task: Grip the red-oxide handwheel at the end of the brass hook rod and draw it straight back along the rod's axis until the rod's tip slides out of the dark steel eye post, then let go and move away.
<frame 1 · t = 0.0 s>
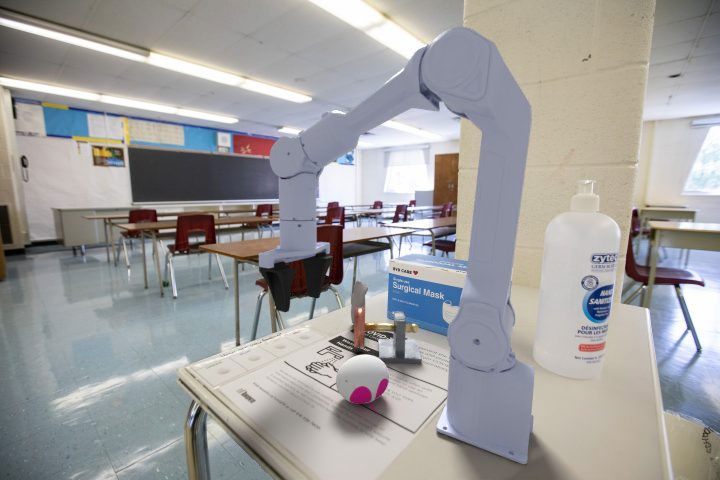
hand: (299, 303, 50), 10 cm above the table, fingers open, 7 cm apart
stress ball: (364, 401, 42), on the table
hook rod: (386, 327, 54), point 5 cm above the table, slide at 0.0 cm
fossil: (358, 326, 66), on the table
eye post: (398, 352, 55), on the table
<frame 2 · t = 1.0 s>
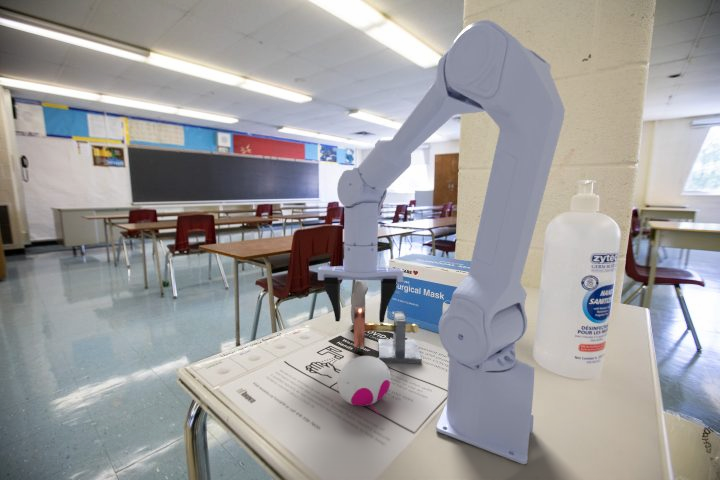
hand: (359, 319, 54), 6 cm above the table, fingers open, 7 cm apart
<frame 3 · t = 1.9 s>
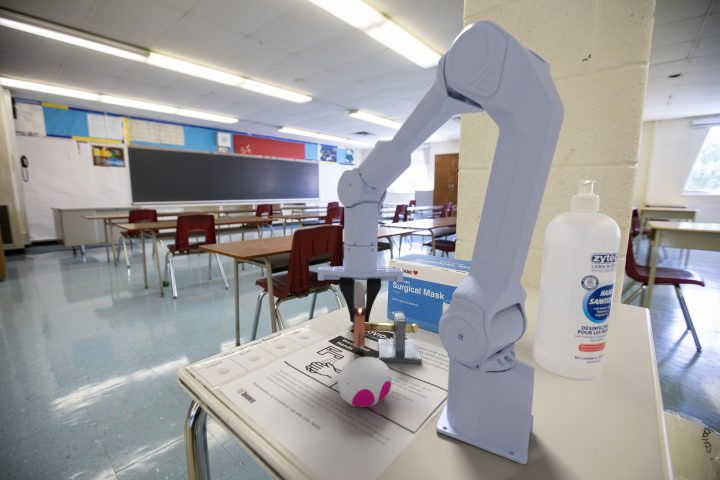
hand: (359, 319, 54), 6 cm above the table, fingers closed, pressing on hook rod
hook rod: (386, 327, 54), point 5 cm above the table, slide at 0.0 cm, touching gripper
everything else where it was.
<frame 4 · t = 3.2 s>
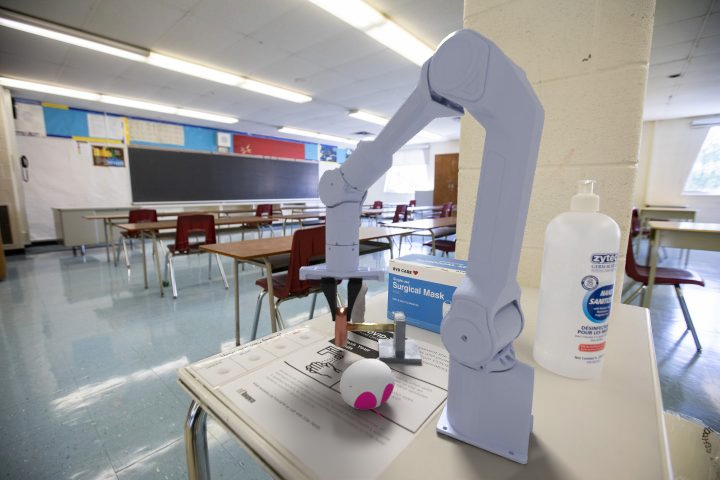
hand: (341, 319, 54), 6 cm above the table, fingers closed on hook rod, 2 cm apart
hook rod: (368, 327, 54), point 5 cm above the table, slide at 3.2 cm, touching gripper
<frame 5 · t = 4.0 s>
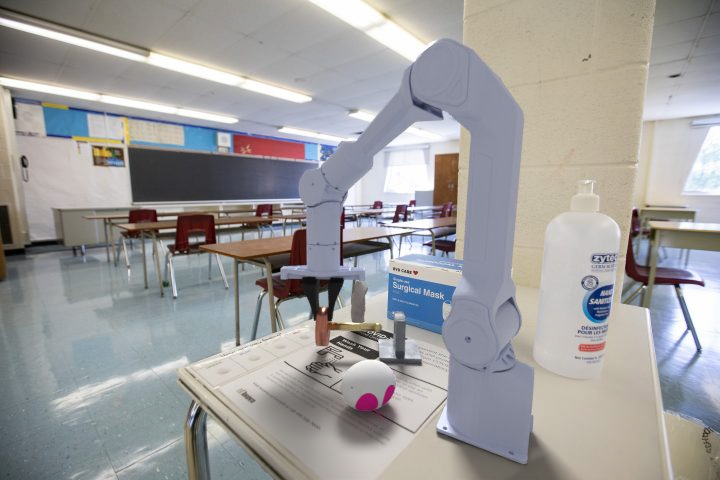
hand: (323, 319, 54), 6 cm above the table, fingers closed on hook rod, 2 cm apart
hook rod: (350, 326, 54), point 5 cm above the table, slide at 6.5 cm, touching gripper
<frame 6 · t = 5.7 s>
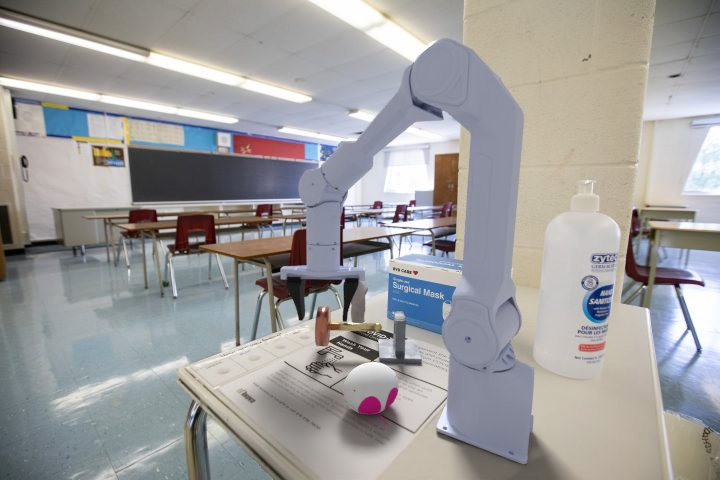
hand: (323, 319, 54), 6 cm above the table, fingers open, 7 cm apart
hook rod: (350, 326, 54), point 5 cm above the table, slide at 6.5 cm
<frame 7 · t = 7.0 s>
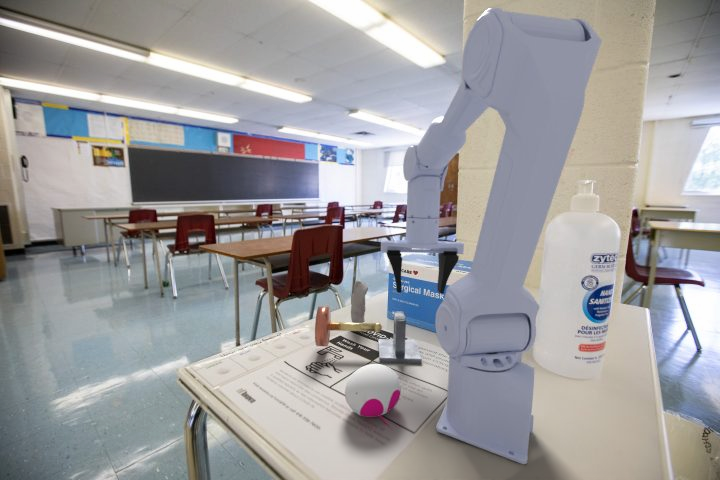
hand: (419, 291, 56), 10 cm above the table, fingers open, 7 cm apart
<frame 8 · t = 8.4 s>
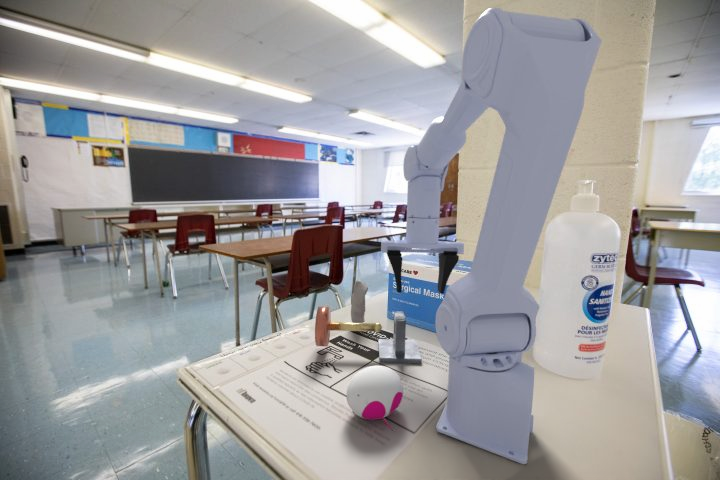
hand: (419, 291, 56), 10 cm above the table, fingers open, 7 cm apart
at the end: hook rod slide at 6.5 cm; the gripper is holding nothing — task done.
